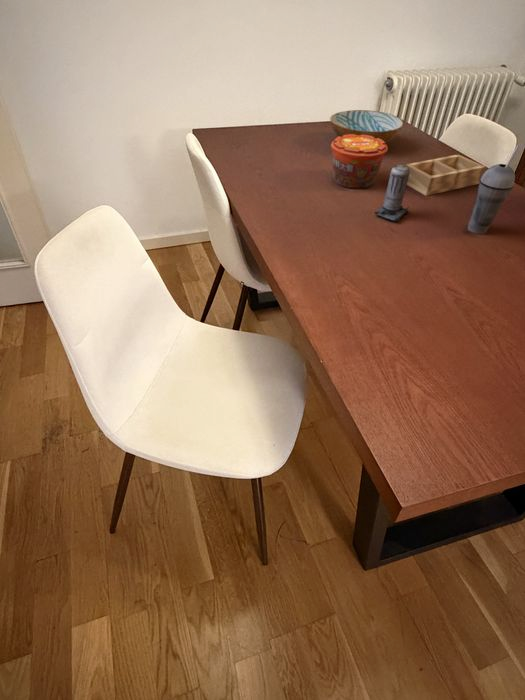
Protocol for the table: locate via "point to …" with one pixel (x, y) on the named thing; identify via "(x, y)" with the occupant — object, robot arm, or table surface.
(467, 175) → the wooden divided box
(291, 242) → the table surface
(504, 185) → the beverage cup
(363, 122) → the bowl
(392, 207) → the grey column figurine
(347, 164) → the food container
